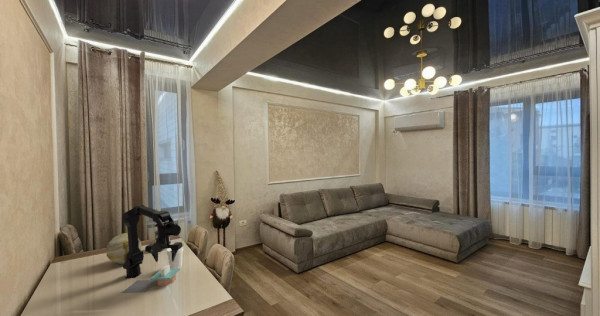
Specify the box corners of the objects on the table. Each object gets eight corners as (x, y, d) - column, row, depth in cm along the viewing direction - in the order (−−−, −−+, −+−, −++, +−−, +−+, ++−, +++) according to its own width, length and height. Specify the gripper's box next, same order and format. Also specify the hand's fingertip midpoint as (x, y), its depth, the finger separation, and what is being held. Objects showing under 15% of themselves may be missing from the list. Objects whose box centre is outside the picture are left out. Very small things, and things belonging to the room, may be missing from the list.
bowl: (153, 286, 137) (153, 278, 137) (162, 278, 146) (162, 271, 146) (170, 286, 137) (169, 278, 137) (178, 278, 146) (177, 270, 146)
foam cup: (177, 272, 153) (176, 251, 153) (164, 271, 155) (163, 251, 155) (187, 265, 163) (186, 245, 162) (175, 265, 164) (173, 245, 164)
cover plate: (150, 280, 136) (149, 272, 136) (161, 270, 147) (161, 263, 147) (170, 279, 136) (169, 271, 136) (180, 269, 147) (179, 262, 147)
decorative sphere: (142, 263, 170) (141, 234, 169) (105, 272, 158) (104, 240, 158) (141, 254, 186) (140, 227, 185) (108, 261, 175) (106, 233, 174)
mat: (120, 294, 131) (120, 293, 131) (137, 281, 144) (137, 280, 144) (145, 293, 131) (145, 292, 131) (159, 280, 144) (159, 279, 144)
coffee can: (164, 251, 190) (163, 232, 190) (152, 250, 192) (151, 232, 192) (173, 246, 200) (172, 228, 200) (162, 245, 202) (161, 228, 202)
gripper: (137, 240, 133) (139, 268, 134) (172, 238, 133) (174, 267, 134) (150, 233, 144) (151, 260, 145) (182, 232, 144) (183, 258, 145)
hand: (164, 261), depth 142 cm, fingers open, 9 cm apart
